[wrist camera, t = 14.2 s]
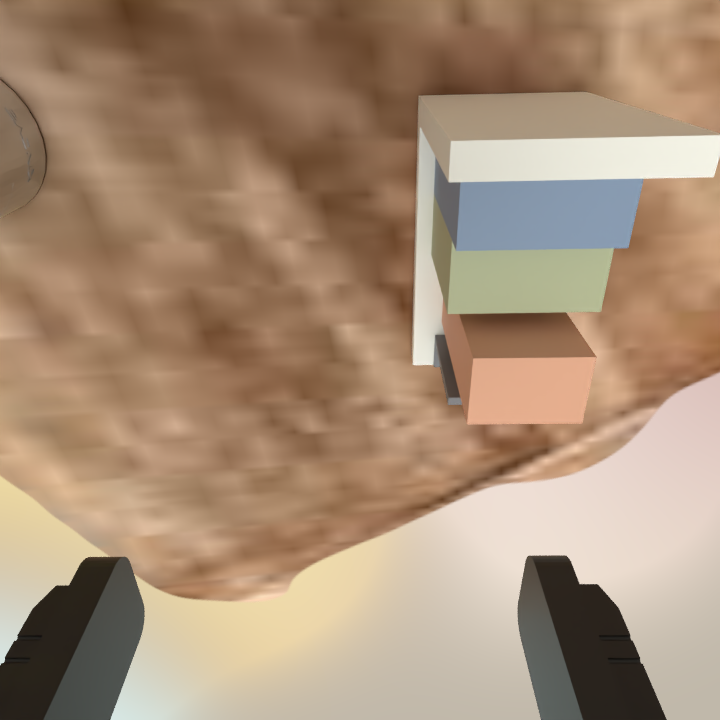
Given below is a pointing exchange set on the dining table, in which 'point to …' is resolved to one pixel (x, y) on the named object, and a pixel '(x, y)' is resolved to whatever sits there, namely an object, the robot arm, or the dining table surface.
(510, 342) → the terracotta block
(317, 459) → the dining table surface
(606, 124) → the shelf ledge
